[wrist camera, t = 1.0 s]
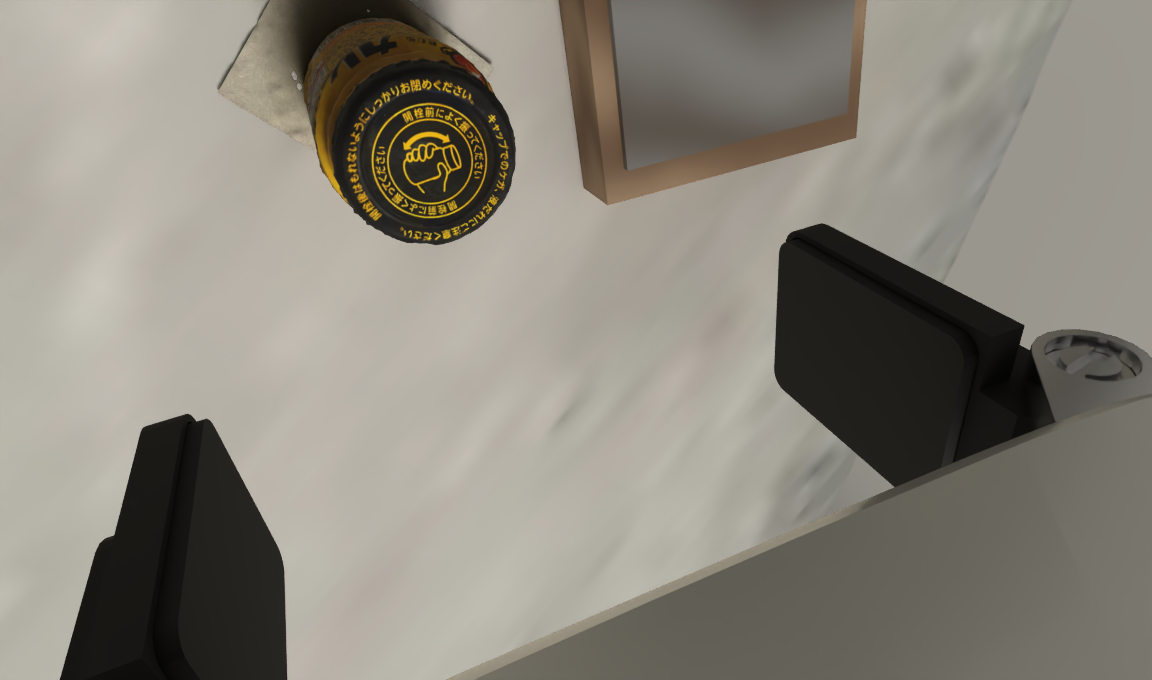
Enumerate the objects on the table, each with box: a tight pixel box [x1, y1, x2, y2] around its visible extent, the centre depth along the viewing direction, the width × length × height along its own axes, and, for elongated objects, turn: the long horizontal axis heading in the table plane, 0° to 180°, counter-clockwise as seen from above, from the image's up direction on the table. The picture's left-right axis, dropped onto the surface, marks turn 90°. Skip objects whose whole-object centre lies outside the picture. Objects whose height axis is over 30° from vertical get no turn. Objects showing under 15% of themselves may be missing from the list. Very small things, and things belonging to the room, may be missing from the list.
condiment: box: [218, 0, 516, 245], centre depth 24 cm, size 7×8×12 cm
